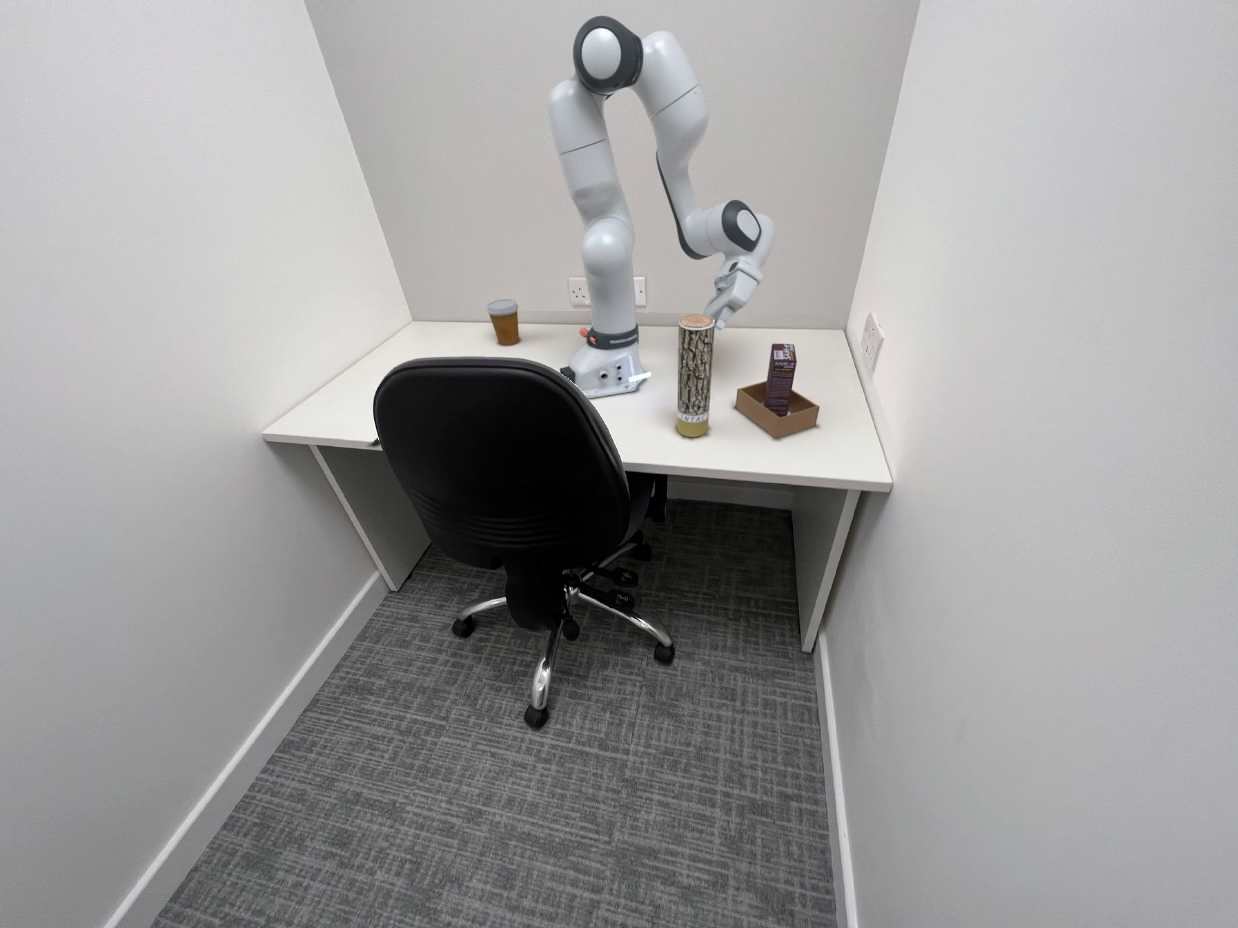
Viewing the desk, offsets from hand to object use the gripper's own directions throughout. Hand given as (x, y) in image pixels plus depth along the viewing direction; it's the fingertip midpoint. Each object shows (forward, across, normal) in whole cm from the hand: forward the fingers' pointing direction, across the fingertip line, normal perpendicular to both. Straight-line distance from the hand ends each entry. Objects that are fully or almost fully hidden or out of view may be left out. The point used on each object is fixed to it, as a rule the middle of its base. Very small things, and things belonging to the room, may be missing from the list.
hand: (709, 334), depth 112 cm
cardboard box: (+10, +2, +21) cm, 24 cm away
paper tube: (+22, 0, +6) cm, 22 cm away
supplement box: (+10, +2, +21) cm, 24 cm away
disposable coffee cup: (+10, -56, -44) cm, 72 cm away
